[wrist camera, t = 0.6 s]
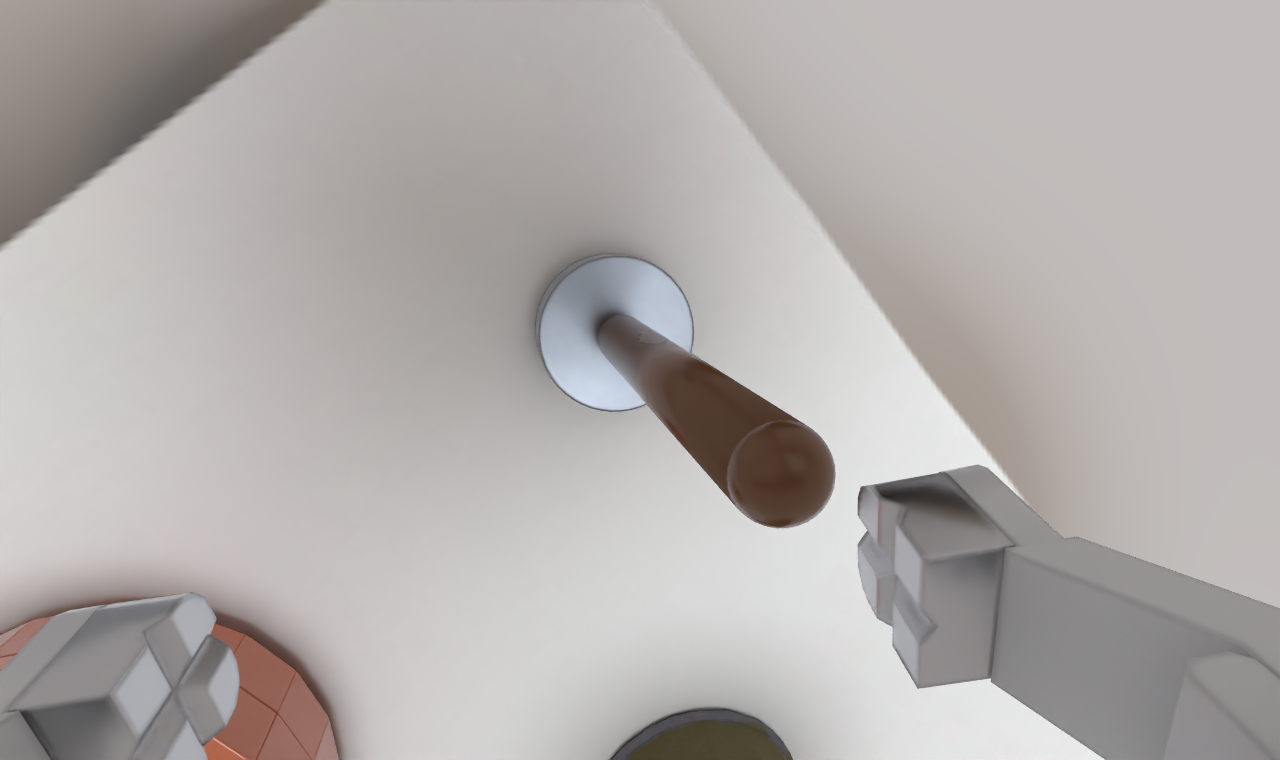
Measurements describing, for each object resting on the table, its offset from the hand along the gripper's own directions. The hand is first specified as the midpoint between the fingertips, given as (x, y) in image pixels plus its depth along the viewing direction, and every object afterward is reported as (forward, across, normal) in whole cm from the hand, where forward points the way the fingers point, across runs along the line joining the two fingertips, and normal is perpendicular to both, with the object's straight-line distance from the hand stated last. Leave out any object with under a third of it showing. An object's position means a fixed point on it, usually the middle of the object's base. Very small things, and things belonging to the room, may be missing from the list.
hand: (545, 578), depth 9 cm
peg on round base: (+20, -1, +4) cm, 21 cm away
